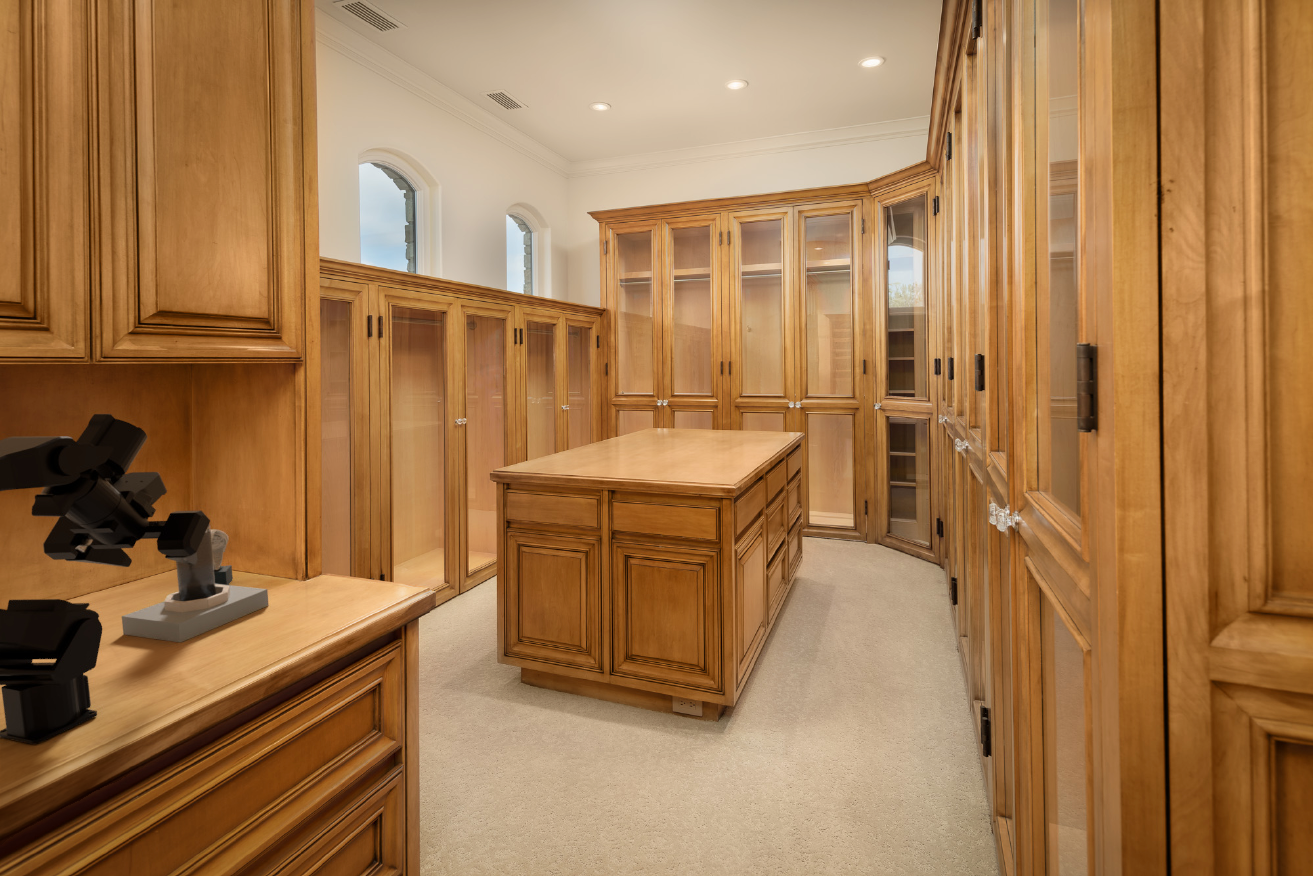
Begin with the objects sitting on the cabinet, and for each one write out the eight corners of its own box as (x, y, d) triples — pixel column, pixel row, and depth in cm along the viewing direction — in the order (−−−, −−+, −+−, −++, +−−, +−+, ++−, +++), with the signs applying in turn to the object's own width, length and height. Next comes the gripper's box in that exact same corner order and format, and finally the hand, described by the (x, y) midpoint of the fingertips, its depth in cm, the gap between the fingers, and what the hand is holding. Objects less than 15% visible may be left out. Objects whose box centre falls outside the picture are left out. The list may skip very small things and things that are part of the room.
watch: (235, 577, 130) (230, 524, 129) (224, 589, 122) (219, 534, 121) (202, 580, 128) (198, 527, 127) (189, 593, 120) (184, 536, 119)
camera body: (180, 642, 99) (177, 614, 98) (123, 634, 102) (120, 607, 101) (268, 605, 114) (266, 581, 113) (216, 599, 117) (214, 575, 117)
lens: (208, 606, 106) (201, 529, 104) (174, 608, 105) (166, 531, 103) (221, 595, 111) (215, 522, 109) (188, 598, 109) (182, 524, 108)
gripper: (195, 454, 88) (247, 514, 100) (51, 457, 86) (121, 518, 99) (161, 524, 81) (220, 580, 93) (3, 528, 79) (84, 584, 92)
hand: (162, 563), depth 94 cm, fingers open, 9 cm apart
